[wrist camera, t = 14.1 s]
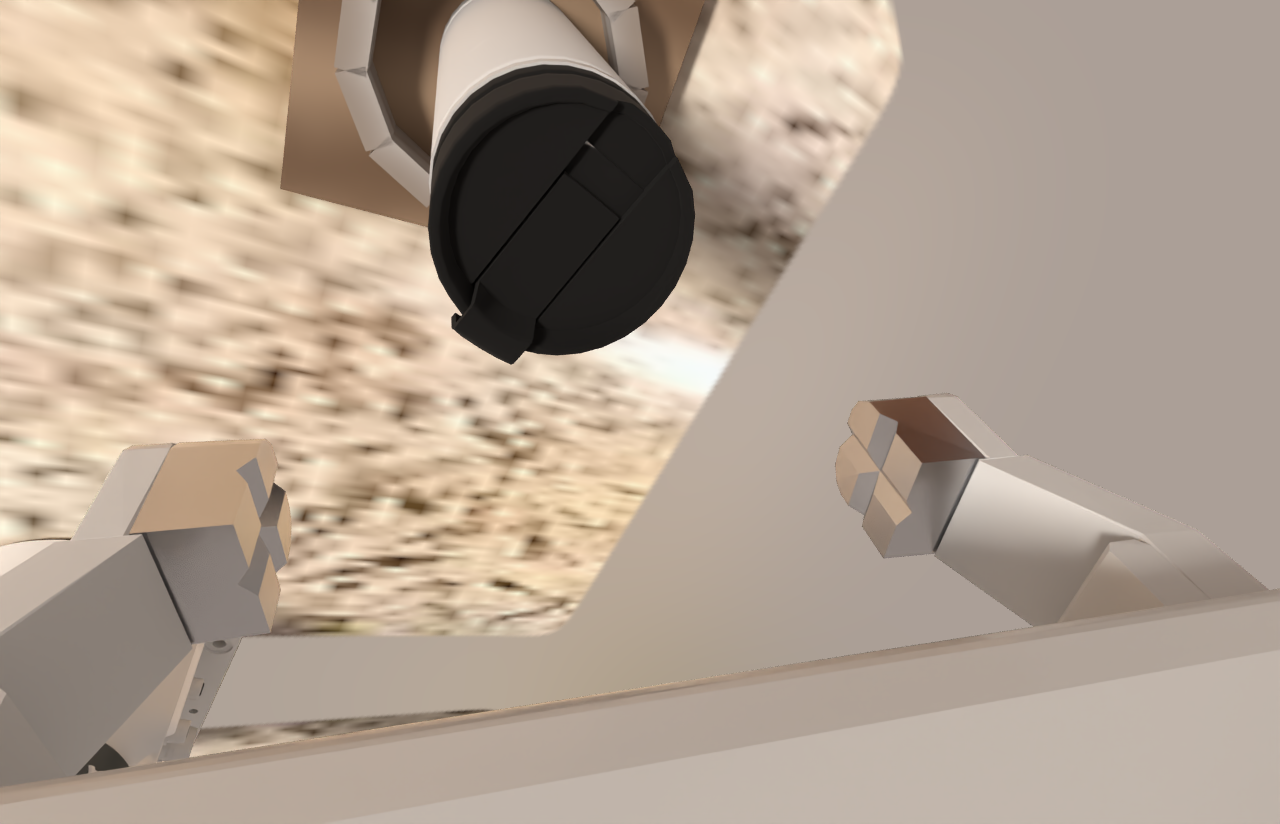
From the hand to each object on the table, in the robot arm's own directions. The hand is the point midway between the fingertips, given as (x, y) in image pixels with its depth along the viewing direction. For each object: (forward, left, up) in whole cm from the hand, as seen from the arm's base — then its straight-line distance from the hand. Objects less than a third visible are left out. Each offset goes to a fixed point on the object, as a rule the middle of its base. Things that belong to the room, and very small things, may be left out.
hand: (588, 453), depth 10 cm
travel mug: (0, -1, -27) cm, 27 cm away
